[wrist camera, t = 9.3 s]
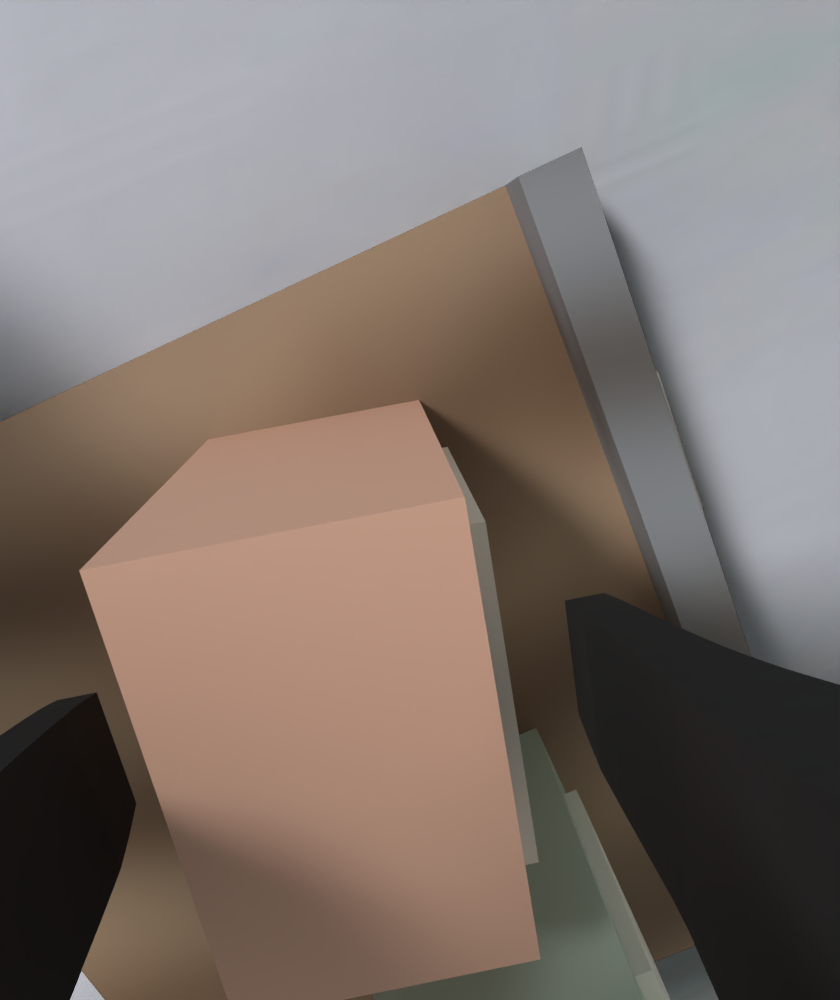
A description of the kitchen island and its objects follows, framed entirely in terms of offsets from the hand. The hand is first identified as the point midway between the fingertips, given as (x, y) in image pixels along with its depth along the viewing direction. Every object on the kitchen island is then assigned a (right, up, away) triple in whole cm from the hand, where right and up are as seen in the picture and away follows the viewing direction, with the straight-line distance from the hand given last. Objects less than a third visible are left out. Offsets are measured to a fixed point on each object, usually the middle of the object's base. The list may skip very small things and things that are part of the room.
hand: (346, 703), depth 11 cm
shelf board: (-1, -3, +7) cm, 8 cm away
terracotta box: (0, +1, +5) cm, 5 cm away
